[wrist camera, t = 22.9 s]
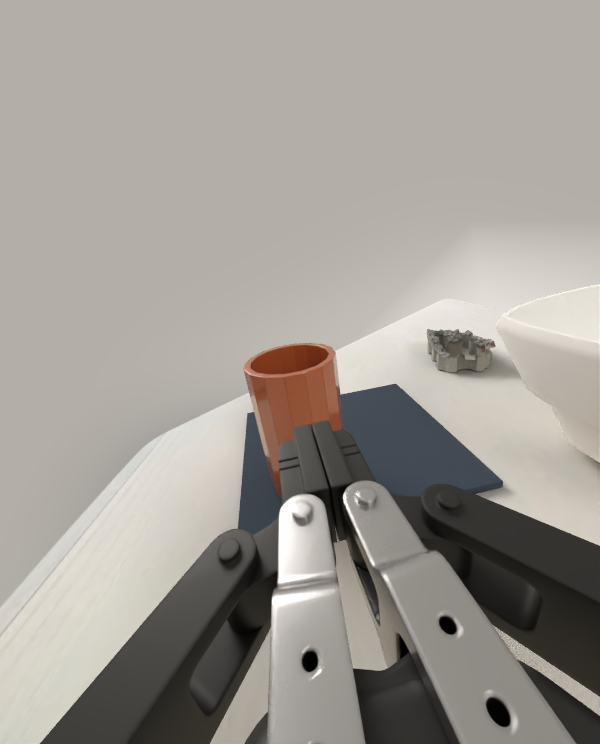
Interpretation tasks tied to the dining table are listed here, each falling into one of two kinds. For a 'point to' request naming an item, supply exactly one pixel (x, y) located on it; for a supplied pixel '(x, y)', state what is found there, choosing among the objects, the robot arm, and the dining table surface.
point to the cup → (292, 394)
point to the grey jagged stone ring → (459, 350)
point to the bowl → (561, 359)
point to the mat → (374, 454)
